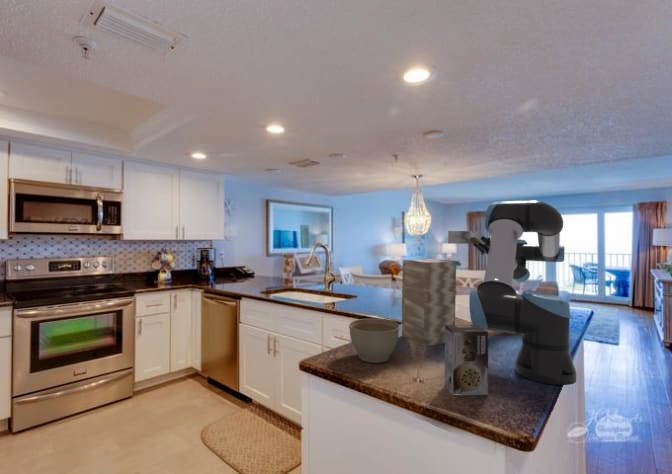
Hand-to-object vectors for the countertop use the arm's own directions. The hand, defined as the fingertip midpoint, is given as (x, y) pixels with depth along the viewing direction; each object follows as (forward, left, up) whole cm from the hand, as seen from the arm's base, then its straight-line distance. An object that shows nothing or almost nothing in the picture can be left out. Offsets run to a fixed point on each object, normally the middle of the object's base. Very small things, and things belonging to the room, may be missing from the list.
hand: (472, 233), depth 144 cm
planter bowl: (-50, +24, -41) cm, 69 cm away
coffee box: (-60, -5, -41) cm, 72 cm away
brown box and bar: (-1, 0, -4) cm, 4 cm away
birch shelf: (-19, +13, -41) cm, 47 cm away
